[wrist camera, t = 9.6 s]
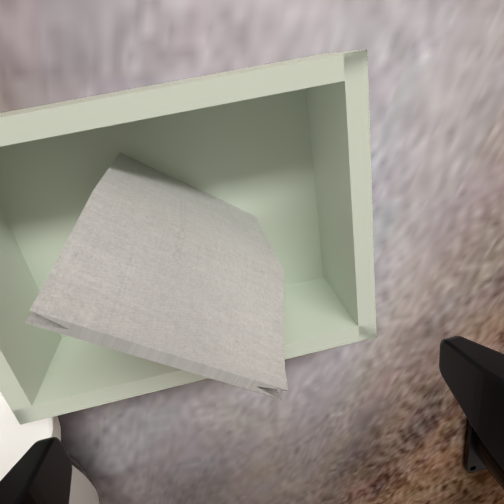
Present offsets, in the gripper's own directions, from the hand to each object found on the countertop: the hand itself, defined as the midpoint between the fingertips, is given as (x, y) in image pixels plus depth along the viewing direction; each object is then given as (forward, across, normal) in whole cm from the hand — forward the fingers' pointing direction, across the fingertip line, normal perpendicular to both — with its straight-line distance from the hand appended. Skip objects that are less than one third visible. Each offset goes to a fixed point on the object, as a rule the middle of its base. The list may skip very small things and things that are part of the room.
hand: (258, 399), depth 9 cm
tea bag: (+12, +2, -1) cm, 12 cm away
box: (+12, +2, -1) cm, 12 cm away
